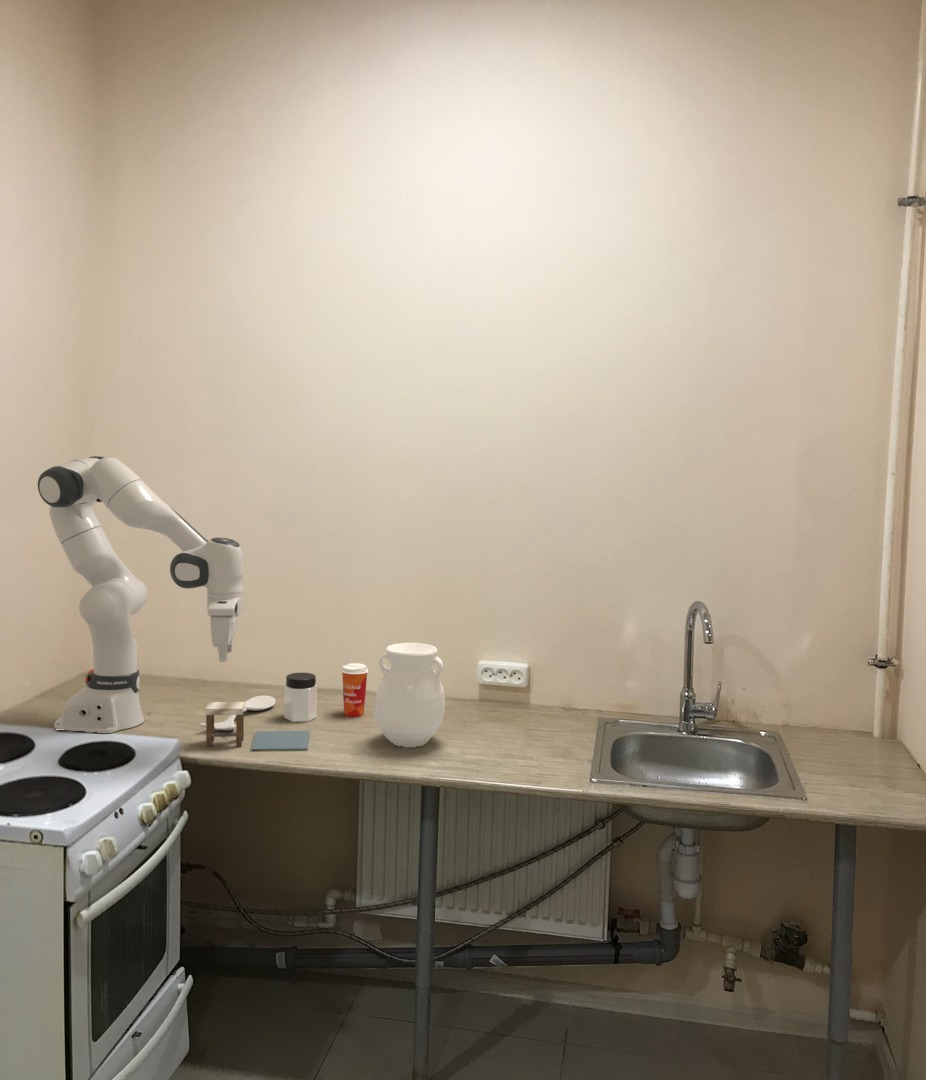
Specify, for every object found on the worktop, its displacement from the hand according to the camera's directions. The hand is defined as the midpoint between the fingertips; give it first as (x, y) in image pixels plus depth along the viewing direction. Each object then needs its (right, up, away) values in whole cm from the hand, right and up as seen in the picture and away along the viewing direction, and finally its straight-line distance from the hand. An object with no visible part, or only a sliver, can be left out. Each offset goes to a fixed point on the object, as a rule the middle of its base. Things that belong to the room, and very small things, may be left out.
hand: (225, 656), depth 232 cm
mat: (+13, -23, +5) cm, 27 cm away
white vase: (+46, -24, +9) cm, 52 cm away
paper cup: (+29, -21, +30) cm, 47 cm away
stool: (-1, -23, +2) cm, 23 cm away
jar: (+14, -21, +25) cm, 36 cm away
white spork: (-1, -21, +23) cm, 31 cm away
